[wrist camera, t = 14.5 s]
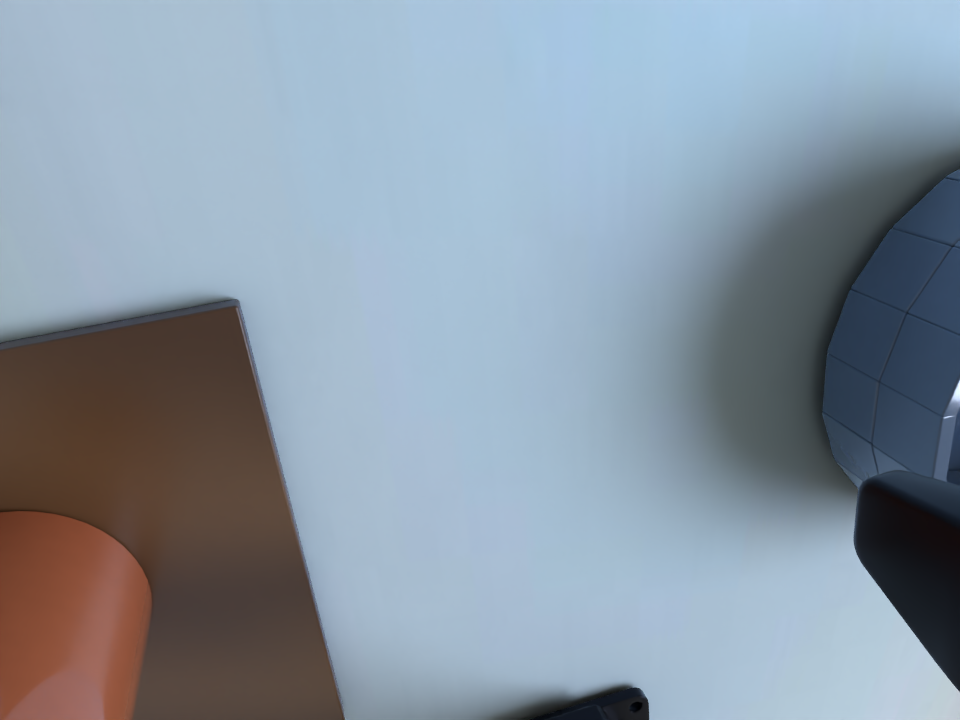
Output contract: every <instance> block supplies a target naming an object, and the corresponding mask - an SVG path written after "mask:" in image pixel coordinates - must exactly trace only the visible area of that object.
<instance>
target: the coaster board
mask: <svg viewBox="0 0 960 720" xmlns="http://www.w3.org/2000/svg"><path fill="white" fill-rule="evenodd" d="M7 511H39V512H46V513H54V514H58V515H63V516H67V517H71V518H74V519H77V520H80V521H83V522H85V523H88V524H90V525H92V526H94V527H96V528H98V529H100V530H102V531H104V532H105V533H107V534H108V535H110V536H112V537H113V538H115V539H116V540H117V541H118V542H119V543H121V544H122V545H123V546H124V547H125V548H126V549H127V550H128V551H129V552H130V553H131V554H132V555H133V556H134V557H135V559H136V560H137V562H138V563H139V565H140V566H141V568H142V569H143V571H144V574H145V576H146V578H147V580H148V583H149V587H150V590H151V596H152V617H151V622H150V628H149V633H148V639H147V645H146V650H145V656H144V661H143V667H142V672H141V678H140V684H139V689H138V695H137V700H136V706H135V711H134V717H133V720H345V717H344V709H343V705H342V701H341V697H340V693H339V689H338V685H337V682H336V678H335V674H334V670H333V666H332V662H331V658H330V654H329V650H328V646H327V642H326V639H325V635H324V631H323V627H322V623H321V619H320V615H319V611H318V607H317V603H316V600H315V596H314V592H313V588H312V584H311V580H310V576H309V572H308V568H307V564H306V560H305V557H304V553H303V549H302V545H301V541H300V537H299V533H298V529H297V525H296V521H295V518H294V514H293V510H292V506H291V502H290V498H289V494H288V490H287V486H286V482H285V478H284V475H283V471H282V467H281V463H280V459H279V455H278V451H277V447H276V443H275V439H274V435H273V432H272V428H271V424H270V420H269V416H268V412H267V408H266V404H265V400H264V396H263V393H262V389H261V385H260V381H259V377H258V373H257V369H256V365H255V361H254V357H253V353H252V350H251V346H250V342H249V338H248V334H247V330H246V326H245V322H244V318H243V314H242V311H241V307H240V303H239V301H238V300H236V299H235V300H229V301H224V302H219V303H213V304H208V305H202V306H197V307H192V308H186V309H181V310H176V311H170V312H165V313H159V314H154V315H149V316H143V317H138V318H133V319H127V320H122V321H117V322H111V323H106V324H100V325H95V326H90V327H84V328H79V329H74V330H68V331H63V332H58V333H52V334H47V335H41V336H36V337H31V338H25V339H20V340H15V341H9V342H4V343H0V512H7Z"/></svg>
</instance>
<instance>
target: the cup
mask: <svg viewBox="0 0 960 720" xmlns="http://www.w3.org/2000/svg"><path fill="white" fill-rule="evenodd" d="M151 617H152V596H151V590H150V587H149V583H148V580H147V578H146V576H145V574H144V571H143V569H142V568H141V566H140V565H139V563H138V562H137V560H136V559H135V557H134V556H133V555H132V554H131V553H130V552H129V551H128V550H127V549H126V548H125V547H124V546H123V545H122V544H121V543H119V542H118V541H117V540H116V539H115V538H113V537H112V536H110V535H108V534H107V533H105V532H104V531H102V530H100V529H98V528H96V527H94V526H92V525H90V524H88V523H85V522H83V521H80V520H77V519H74V518H71V517H67V516H63V515H58V514H54V513H46V512H39V511H7V512H0V720H133V717H134V711H135V706H136V700H137V695H138V689H139V684H140V678H141V672H142V667H143V661H144V656H145V650H146V645H147V639H148V633H149V628H150V622H151Z"/></svg>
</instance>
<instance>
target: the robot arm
mask: <svg viewBox="0 0 960 720" xmlns="http://www.w3.org/2000/svg"><path fill="white" fill-rule="evenodd" d="M854 546H855V550H856V553H857V555H858V557H859V559H860V561H861V563H862V564H863V566H864V567H865V568H866V570H867V571H868V572H869V574H870V575H871V576H872V578H873V579H874V580H875V582H876V583H877V584H878V586H879V587H880V588H881V590H882V591H883V592H884V594H885V595H886V596H887V598H888V599H889V600H890V602H891V603H892V604H893V606H894V607H895V608H896V610H897V611H898V612H899V614H900V615H901V616H902V618H903V619H904V620H905V622H906V623H907V624H908V626H909V627H910V628H911V630H912V631H913V632H914V634H915V635H916V636H917V638H918V639H919V640H920V642H921V643H922V644H923V646H924V647H925V648H926V650H927V651H928V652H929V654H930V655H931V656H932V658H933V659H934V660H935V662H936V663H937V664H938V666H939V667H940V668H941V669H942V671H943V672H944V673H945V674H946V676H947V677H948V678H949V680H950V681H951V682H952V683H953V684H954V686H955V687H956V688H957V689H958V690H959V691H960V485H957V484H953V483H949V482H946V481H942V480H938V479H935V478H931V477H927V476H923V475H920V474H916V473H912V472H909V471H904V470H892V471H888V472H885V473H882V474H878V475H875V476H871V477H868V478H866V479H865V480H863V481H862V483H861V485H860V486H859V489H858V496H857V507H856V518H855V528H854ZM530 720H649V703H648V700H647V698H646V696H645V694H644V693H643V691H642V690H641V689H640V688H630V689H626V690H623V691H620V692H617V693H614V694H610V695H607V696H604V697H601V698H598V699H594V700H591V701H588V702H585V703H582V704H578V705H575V706H572V707H569V708H566V709H562V710H559V711H556V712H553V713H550V714H546V715H543V716H540V717H537V718H534V719H530Z"/></svg>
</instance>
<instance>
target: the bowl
mask: <svg viewBox="0 0 960 720" xmlns="http://www.w3.org/2000/svg"><path fill="white" fill-rule="evenodd" d="M827 353H828V354H827V359H826V371H825V383H824V396H823V408H822V409H823V411H822V415H823V419H824V423H825V426H826V430H827V434H828V438H829V442H830V445H831V449H832V453H833V457H834V459H835V460H836V462H837V463H838V465H839V466H840V467H841V468H842V470H843V471H844V472H845V473H846V475H847V476H848V477H849V478H850V480H851V481H852V482H853V483H854V484H855V486H856V487H857V488H858V489H859V486H860V485H861V483H862V481H863V480H865V479H866V478H868V477H871V476H875V475H878V474H882V473H885V472H888V471H892V470H904V471H909V472H912V473H916V474H920V475H923V476H927V477H931V478H935V479H938V480H942V481H946V482H949V483H953V484H957V485H960V169H958V170H956V171H954V172H953V173H951V174H949V175H947V176H946V177H945V179H942V180H941V181H940V182H939V183H938V184H937V185H936V186H935V187H934V188H933V189H932V190H931V191H930V192H929V193H928V194H926V195H925V196H924V197H923V198H922V199H921V200H920V201H919V202H918V203H917V204H916V205H915V206H914V207H913V208H912V209H911V210H909V211H908V212H907V213H906V214H905V215H904V216H903V217H902V218H901V219H900V220H899V221H898V222H897V223H896V224H895V225H894V226H893V229H890V230H889V231H888V233H887V234H886V236H885V237H884V239H883V240H882V242H881V243H880V245H879V246H878V248H877V249H876V251H875V252H874V254H873V255H872V257H871V258H870V260H869V261H868V263H867V264H866V266H865V267H864V269H863V270H862V272H861V273H860V275H859V276H858V278H857V279H856V281H855V282H854V284H853V285H852V287H851V290H849V293H848V296H847V298H846V301H845V304H844V306H843V309H842V312H841V315H840V317H839V320H838V323H837V325H836V328H835V331H834V334H833V336H832V339H831V342H830V344H829V347H828V350H827Z"/></svg>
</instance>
